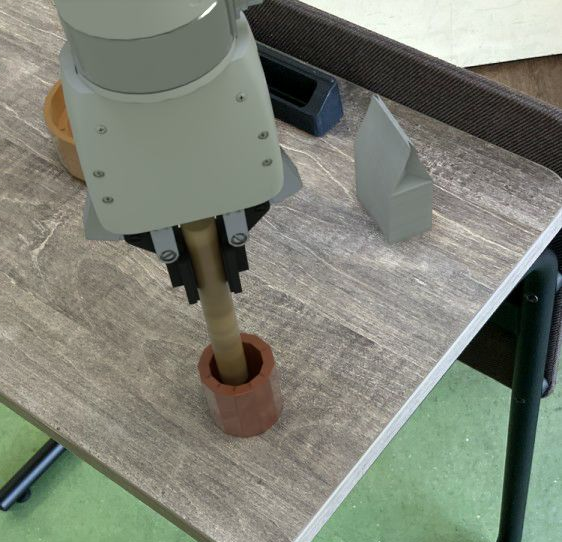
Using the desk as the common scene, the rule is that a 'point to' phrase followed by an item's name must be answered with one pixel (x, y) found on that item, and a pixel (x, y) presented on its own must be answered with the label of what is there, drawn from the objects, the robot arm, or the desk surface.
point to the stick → (216, 299)
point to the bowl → (61, 130)
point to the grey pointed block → (391, 176)
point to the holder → (243, 390)
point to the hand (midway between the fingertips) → (211, 279)
